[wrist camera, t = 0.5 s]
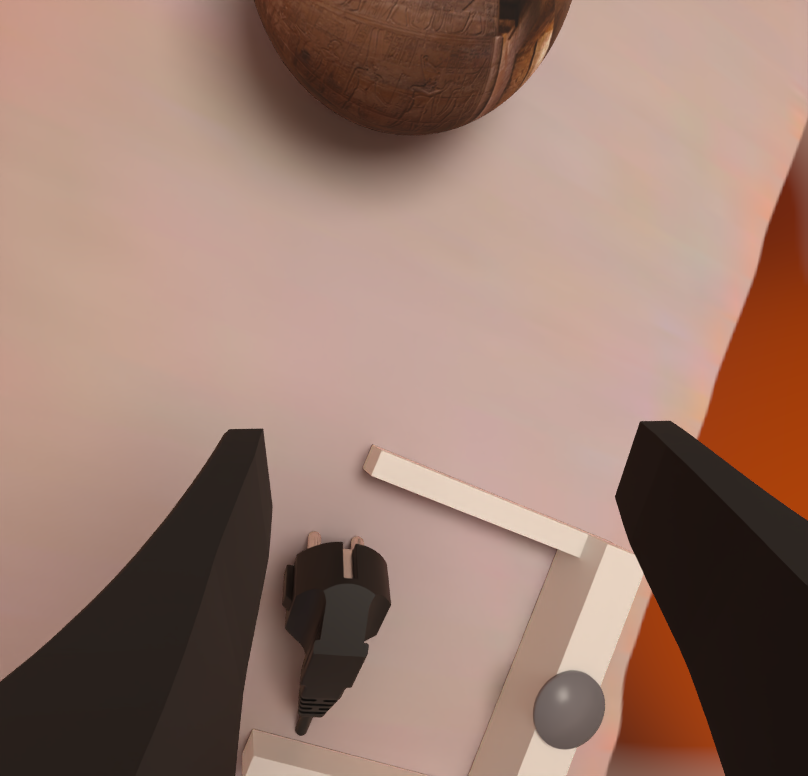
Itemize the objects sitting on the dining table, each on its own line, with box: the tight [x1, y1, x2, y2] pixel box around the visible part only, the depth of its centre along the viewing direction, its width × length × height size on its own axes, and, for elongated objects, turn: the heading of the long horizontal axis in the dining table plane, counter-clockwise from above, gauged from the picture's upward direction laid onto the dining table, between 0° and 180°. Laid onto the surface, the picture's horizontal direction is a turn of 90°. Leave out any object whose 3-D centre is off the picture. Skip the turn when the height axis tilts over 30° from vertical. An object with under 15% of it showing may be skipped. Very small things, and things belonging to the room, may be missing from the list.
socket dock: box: [242, 445, 644, 776], centre depth 36 cm, size 19×18×5 cm
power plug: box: [282, 531, 391, 736], centre depth 35 cm, size 6×8×12 cm
